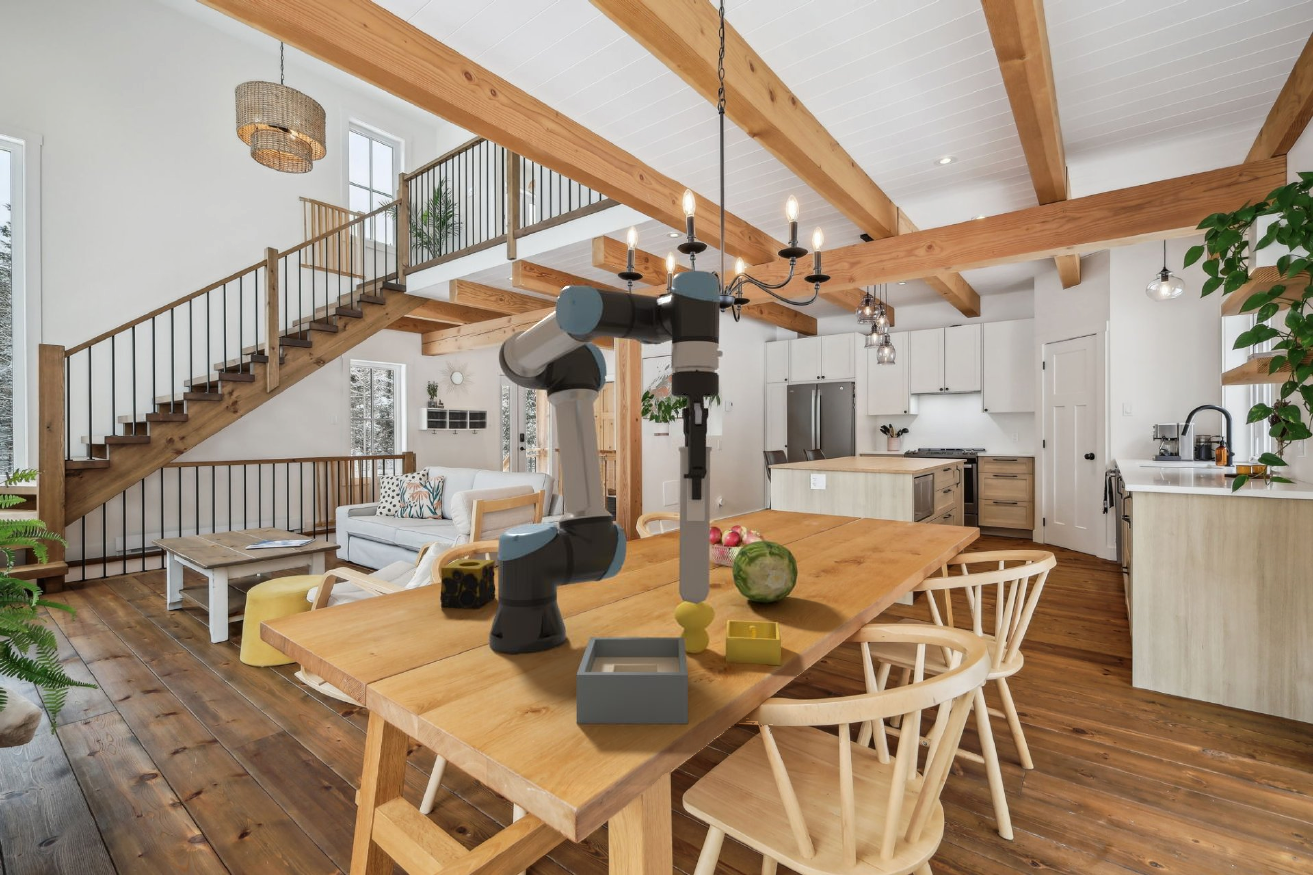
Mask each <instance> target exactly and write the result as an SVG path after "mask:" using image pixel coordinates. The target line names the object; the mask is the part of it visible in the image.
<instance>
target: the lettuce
mask: <svg viewBox="0 0 1313 875" xmlns="http://www.w3.org/2000/svg"><path fill="white" fill-rule="evenodd" d="M798 573H799V571H798V567H797V561H796V558H795V557H794V555H793V553H792V552H791V551H790V549H788V548H786V547H784V546H783V545H781V544H780V543H778V542H773V541H768V540H767V541H766V540H760V541H754V542H750V543H747V545H745V546H743V547H742V548H740V549H739V551H738V552H737V554H736V556H735V557H734V558H733V565H732V577H733V583H734V585H735V587H736V588H737V591H738V592H739V593H740V595H741V596H743V597H746V598H747V599H749V600H750V601H754V602H758V603H771V602H772V603H773V602H779V601H781V600H782V599H785V598H786V597H787V596H789V595H790V594H791V592H792V591H793V589H794V588H795V587H796V585H797V580H798Z"/></svg>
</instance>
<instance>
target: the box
mask: <svg viewBox="0 0 1313 875" xmlns="http://www.w3.org/2000/svg"><path fill="white" fill-rule="evenodd" d="M575 677H576V681H575V682H576V684H575V685H576V688H575V689H576V694H575V695H576V698H575V699H576V702H575V703H576V724H587V725H588V724H595V725H596V724H617V725H620V724H623V725H625V724H627V725H629V724H631V725H632V724H633V725H634V724H635V725H638V724H639V725H642V724H643V725H647V724H648V725H649V724H650V725H659V724H660V725H663V724H666V725H668V724H669V725H676V724H677V725H688V724H689V695H688V694H689V673H688V664H687V651H686V650H685V641H684V637H680V636H679V637H670V636H669V637H668V636H666V637H660V636H659V637H655V636H654V637H651V636H650V637H648V636H647V637H645V636H644V637H642V636H641V637H638V636H636V637H635V636H634V637H632V636H630V637H628V636H626V637H624V636H622V637H621V636H620V637H616V636H614V637H611V636H610V637H609V636H608V637H607V636H606V637H605V636H603V637H602V636H601V637H599V636H598V637H597V636H595V637H594V636H593V637H591V636H590V637H589V640H588V642H587V646H586V648H585V650H584V653H583V656H582V659H581V661H580V664H579V667H578V670H577V673H576V676H575Z"/></svg>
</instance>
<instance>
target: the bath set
mask: <svg viewBox="0 0 1313 875" xmlns="http://www.w3.org/2000/svg"><path fill="white" fill-rule="evenodd" d="M715 615H716V612H715V611H714V608H713V607H712V606H711V605H710V604H709V603H708V602H706V601H702V602H700V603H697V604H695V603H691V602H686V601H682V602H681V603H680V604H678V605H677V606H676V608H675V609H674V612H673V616H674V620H675V621H676V623H677V624H678V625H679V626H680V627H682V628H683V630H682V631H681V632H680V635H679V637H684V641H685V651H686V653H690V654H700V653H702V652H703V651H705V650H706V649H707V648H708V646H709V643H710V636H709V634H708V631H707V630H706V628H708V627H709V626H710V625H711V624H712V623H713V621H714V620H715ZM725 662H726V663H737V664H739V663H740V664H758V665H766V666H780V665H781V666H782V638H781V632H780V626H779V621H776V622H775V621H773V622H772V621H755V620H754V621H752V620H749V621H747V620H733V619H732V620H731V619H730V620H729V619H728V620H727V623H726V631H725Z"/></svg>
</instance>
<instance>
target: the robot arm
mask: <svg viewBox="0 0 1313 875" xmlns="http://www.w3.org/2000/svg"><path fill="white" fill-rule="evenodd" d="M719 281H720V280H719V279H718V276H716V275H715V274H714V273H712V272H709V271H704V270H685V271H682V272H679V273H676V274H675V275H674V276H673V279H672V282H671V288H670V291H671V293H669V294H666V295H663V296H652V295H647V294H638V293H632V292H631V293H630V292H625V291H623V292H622V291H619V290H613V289H612V290H611V289H606V288H605V289H604V288H600V287H599V288H598V287H593V286H590V285H572V284H570V285H566V286H565V287H563V289H561V291H560V293H559V295H558V297H557V299H556V304H555V311H553V312H552V313H550V314H549V315H548V316H546V317H544V318H543V319H542V320H540V321H539V322H537V323H536V324H535V325H533V326H532V327H530V328H529V329H527V330H520V331H517V332H514V333H513V334H511V335H510V336H509V337H507V338H506V339H505V340H504V341H503V343H502V345H501V346H500V347H499V348H500V349H499V352H498V363H499V365H500V369H501V371H502V372H503V374H504V375H505V377H506V378H508V380H509V381H511V382H512V383H514V384H516V385H517V386H519V387H521V388H524V389H530V390H537V391H539V390H540V391H546V398H547V399H546V400H547V402H548V403H550V404H551V405H552V406H553V407H554V410H555V420H556V431H557V441H558V443H557V444H558V452H559V461H560V473H561V483H562V493H563V494H562V495H563V503H564V514H563V515H562V517H561V518H560V519H559V521H558V525H559V528H558V526H557V524H555V523H552V522H539V523H537V522H536V523H528V524H523V525H518V526H515V527H511V528H510V529H509V528H508V529H507V530H505V531H504V532H502V534H501V535H500V536H499V538H498V549H497V555H496V558H497V572H498V573H497V578H498V579H497V582H498V583H497V584H498V585H497V588H498V589H497V590H498V591H497V593H498V594H497V595H498V596H497V599H498V600H497V601H498V603H497V608H496V611H495V614H494V615H495V616H494V619H493V621H492V625H491V627H490V631H489V633H488V637H489V638H488V640H489V648H490V649H491V650H493V651H494V652H498V653H502V654H508V655H527V654H529V655H530V654H536V653H537V654H538V653H542V652H547V651H550V650H553V649H556V648H559V647H561V646H562V645H563V644H564V643H565V642H566V640H567V639H566V638H567V637H566V636H567V635H566V633H567V630H566V625H565V622H564V620H563V617H562V614H561V610H560V607H559V604H558V587H559V586H560V587H562V586H568V585H574V584H575V585H576V584H582V583H589V582H600V581H602V580H605V579H606V580H607V579H610V578H613V577H616V576H617V575H618V574H619V573H620V571H621V570H622V567H623V566H624V563H625V560H626V555H627V539H626V534H625V532H624V529H623V527H622V526H620V524H617V523H615V522H613V521H614V520H613V514H612V513H610V512H609V510H607V509H606V507H605V502H604V501H605V500H604V492H603V491H604V490H603V482H602V481H603V480H602V472H601V465H600V464H601V463H600V454H599V445H598V444H599V443H598V436H597V435H598V434H597V427H596V418H595V409H594V408H595V407H594V402H596V400H597V399H598V398H599V397H600V393H599V392H600V391H601V390H603V388H604V387H605V384H606V381H607V380H606V377H607V372H608V370H607V364H606V363H607V362H606V359H605V357H604V354H603V352H602V350H601V349H600V348H599V347H598V346H597V345H596V344H595V343H593V342H591V341H593V340H594V341H595V340H596V339H598V338H599V337H600V338H603V337H606V338H615V339H626V340H635V341H637V342H639V343H640V344H644V345H661V344H664V343H666V342H671V354H670V355H671V357H670V358H671V359H670V360H671V362H670V363H671V364H670V367H671V369H672V370H673V371H674V372H673V373H672V374H671V395H672V396H673V397H678V398H686V407H683V408H682V409H681V417H682V420H683V421H682V422H683V426H682V430H683V431H682V432H683V435H684V447H688V474H684V479H687V521H705V475H706V473H707V470H706V447H707V435H708V434H707V433H708V418H709V408H708V407H705V400H704V398H715V397H717V396H718V395H719V393H720V375H719V374H718V372H715V371H717V370H718V369H719V367H720V365H719V364H720V362H719V360H720V358H721V357H723V351H722V350H719V347H720V346H719V344H720V305H721V304H720V303H721V298H720V284H719Z"/></svg>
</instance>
